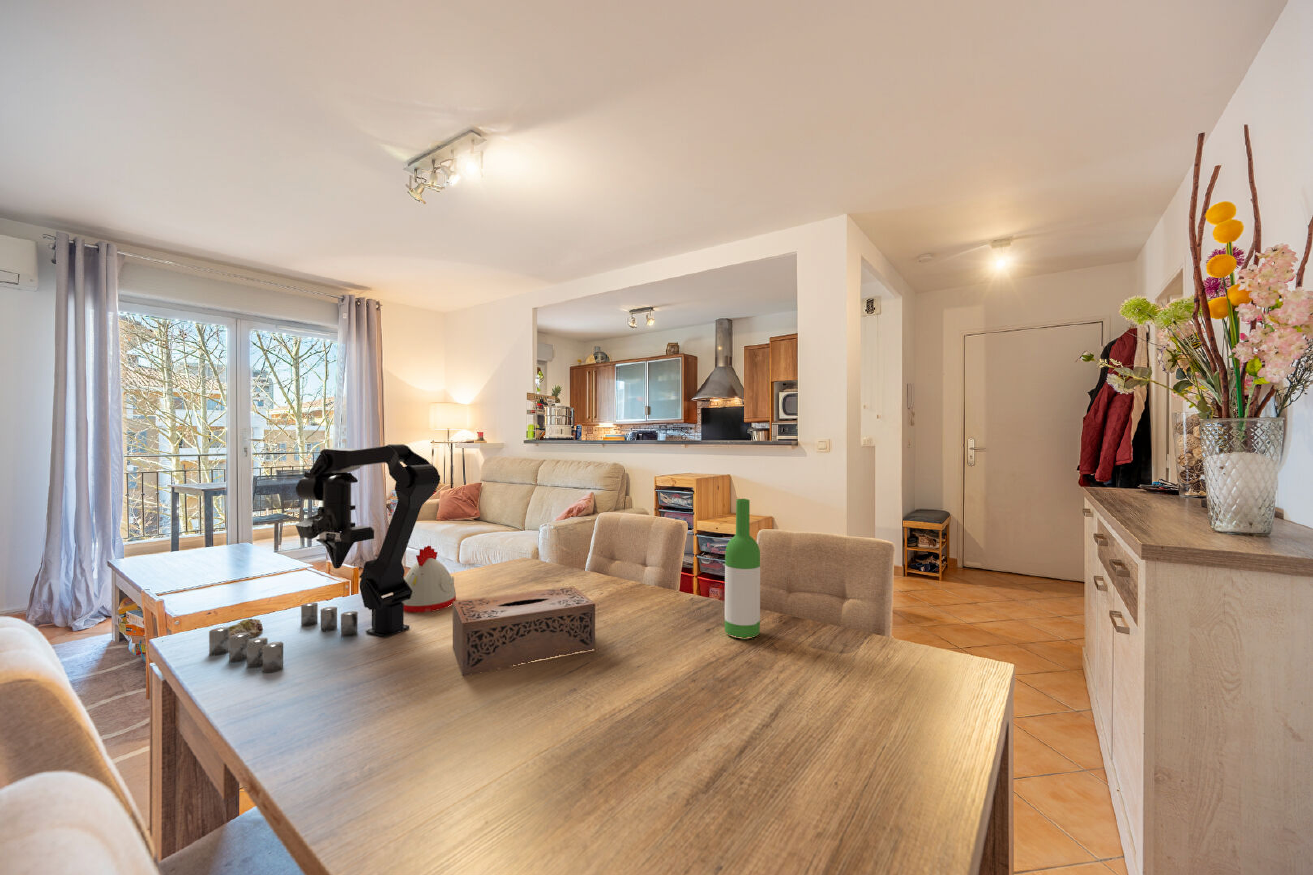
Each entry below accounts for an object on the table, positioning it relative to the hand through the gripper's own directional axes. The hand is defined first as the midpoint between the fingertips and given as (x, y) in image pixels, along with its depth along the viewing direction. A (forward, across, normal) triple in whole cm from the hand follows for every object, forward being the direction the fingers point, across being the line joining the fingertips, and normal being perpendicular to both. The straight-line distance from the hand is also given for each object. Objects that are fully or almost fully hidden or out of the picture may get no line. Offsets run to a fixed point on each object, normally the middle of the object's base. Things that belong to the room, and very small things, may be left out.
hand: (337, 568), depth 127 cm
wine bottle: (+13, +88, +34) cm, 95 cm away
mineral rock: (+13, -10, -16) cm, 23 cm away
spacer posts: (+13, +5, -13) cm, 19 cm away
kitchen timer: (+13, +8, +19) cm, 24 cm away
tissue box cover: (+13, +50, +6) cm, 52 cm away
